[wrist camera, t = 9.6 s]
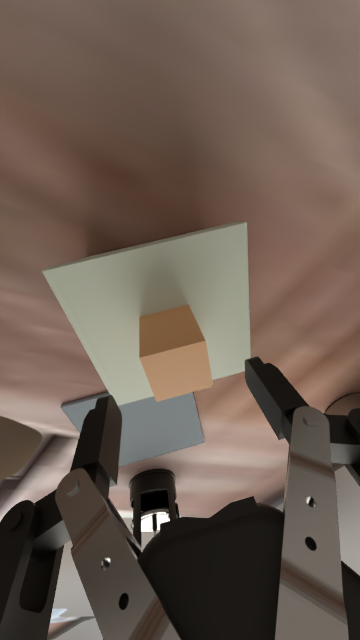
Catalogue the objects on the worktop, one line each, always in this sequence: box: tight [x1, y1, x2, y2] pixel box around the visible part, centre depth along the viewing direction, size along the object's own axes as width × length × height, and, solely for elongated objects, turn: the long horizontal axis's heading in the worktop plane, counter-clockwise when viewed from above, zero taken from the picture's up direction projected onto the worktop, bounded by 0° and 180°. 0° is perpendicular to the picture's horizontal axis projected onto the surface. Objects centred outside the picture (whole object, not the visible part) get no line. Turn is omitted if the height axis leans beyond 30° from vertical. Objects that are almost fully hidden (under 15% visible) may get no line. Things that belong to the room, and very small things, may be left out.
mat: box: [61, 392, 204, 467], centre depth 34 cm, size 18×18×1 cm
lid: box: [42, 221, 251, 406], centre depth 16 cm, size 14×14×6 cm
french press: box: [129, 469, 179, 547], centre depth 34 cm, size 12×9×23 cm
